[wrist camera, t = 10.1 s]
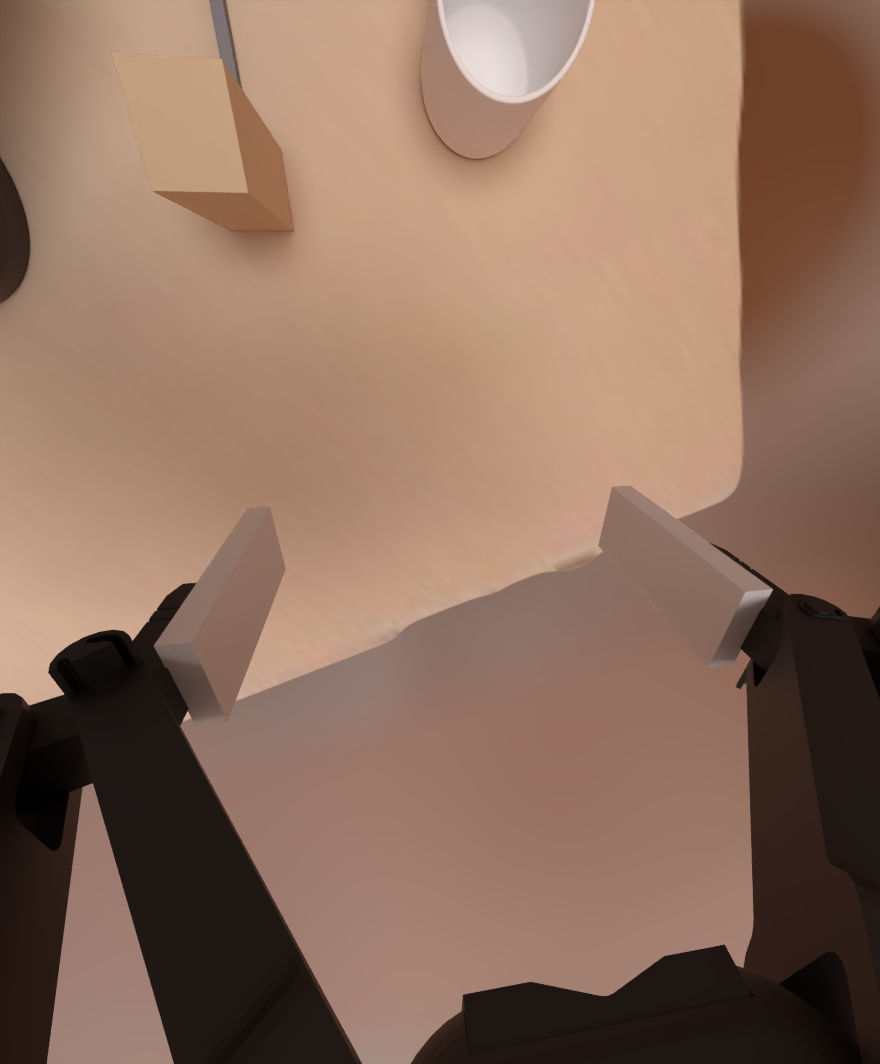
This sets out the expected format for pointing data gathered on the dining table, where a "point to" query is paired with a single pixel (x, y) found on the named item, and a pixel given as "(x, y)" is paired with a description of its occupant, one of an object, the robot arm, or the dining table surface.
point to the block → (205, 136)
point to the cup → (495, 66)
